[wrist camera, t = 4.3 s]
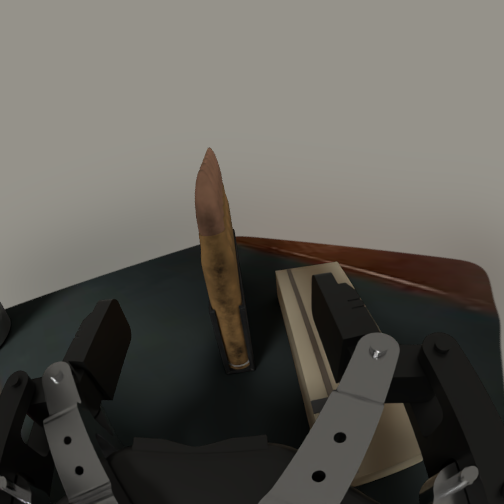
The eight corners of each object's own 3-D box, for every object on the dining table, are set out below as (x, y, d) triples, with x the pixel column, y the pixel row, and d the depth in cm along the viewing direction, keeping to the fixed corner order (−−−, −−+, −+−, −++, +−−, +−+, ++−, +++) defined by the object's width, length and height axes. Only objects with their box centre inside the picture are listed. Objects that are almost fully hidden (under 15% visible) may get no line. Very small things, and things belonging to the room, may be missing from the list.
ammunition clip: (221, 281, 26) (197, 148, 20) (241, 278, 26) (221, 144, 20) (226, 375, 16) (176, 178, 11) (256, 371, 16) (222, 170, 11)
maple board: (324, 494, 9) (331, 483, 8) (277, 295, 23) (275, 269, 22) (420, 461, 9) (440, 443, 8) (335, 286, 23) (337, 260, 22)
